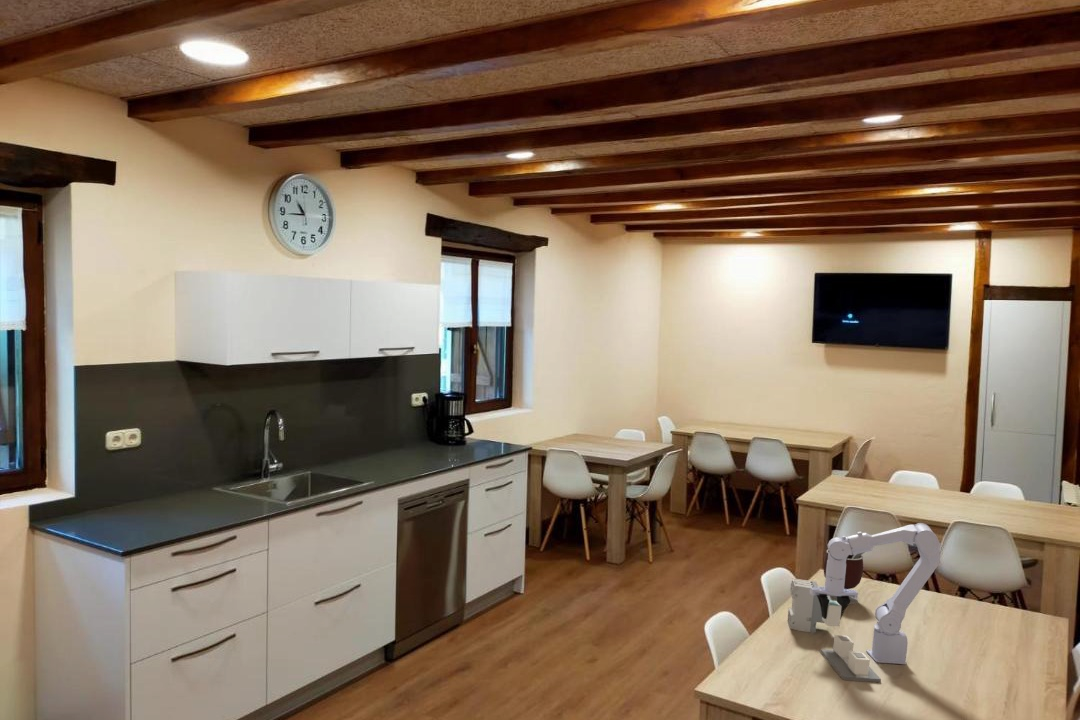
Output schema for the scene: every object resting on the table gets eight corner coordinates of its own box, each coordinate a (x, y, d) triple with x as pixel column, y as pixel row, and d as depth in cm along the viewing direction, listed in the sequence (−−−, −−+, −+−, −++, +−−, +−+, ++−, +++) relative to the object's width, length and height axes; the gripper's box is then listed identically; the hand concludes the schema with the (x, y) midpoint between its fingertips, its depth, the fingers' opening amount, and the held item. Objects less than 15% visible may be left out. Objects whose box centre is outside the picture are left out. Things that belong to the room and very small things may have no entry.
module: (834, 620, 249) (836, 600, 249) (839, 626, 245) (841, 605, 244) (821, 619, 249) (823, 599, 249) (826, 625, 245) (829, 605, 244)
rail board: (855, 654, 244) (857, 635, 244) (880, 682, 226) (882, 661, 226) (820, 652, 244) (822, 632, 244) (843, 679, 226) (845, 658, 226)
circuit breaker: (834, 635, 258) (839, 591, 257) (789, 629, 261) (794, 585, 260) (830, 626, 265) (835, 584, 264) (787, 620, 268) (791, 578, 267)
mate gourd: (824, 602, 289) (829, 549, 287) (817, 589, 302) (822, 538, 301) (868, 607, 286) (873, 554, 285) (859, 594, 300) (864, 543, 298)
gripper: (853, 573, 250) (849, 614, 251) (808, 570, 250) (804, 611, 251) (862, 581, 243) (857, 623, 244) (815, 578, 243) (811, 620, 244)
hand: (831, 618), depth 247 cm, fingers closed on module, 4 cm apart
